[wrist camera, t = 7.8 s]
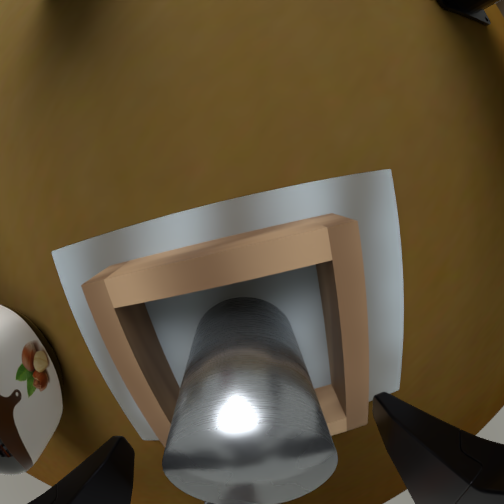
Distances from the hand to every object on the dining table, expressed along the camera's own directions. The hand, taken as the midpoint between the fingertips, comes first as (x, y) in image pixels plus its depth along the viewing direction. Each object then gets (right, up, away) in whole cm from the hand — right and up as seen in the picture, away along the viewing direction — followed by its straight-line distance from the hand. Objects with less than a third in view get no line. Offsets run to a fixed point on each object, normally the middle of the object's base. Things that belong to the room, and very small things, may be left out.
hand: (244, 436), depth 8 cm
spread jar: (-18, 0, +7) cm, 19 cm away
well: (0, +2, +7) cm, 7 cm away
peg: (0, +2, +6) cm, 6 cm away
